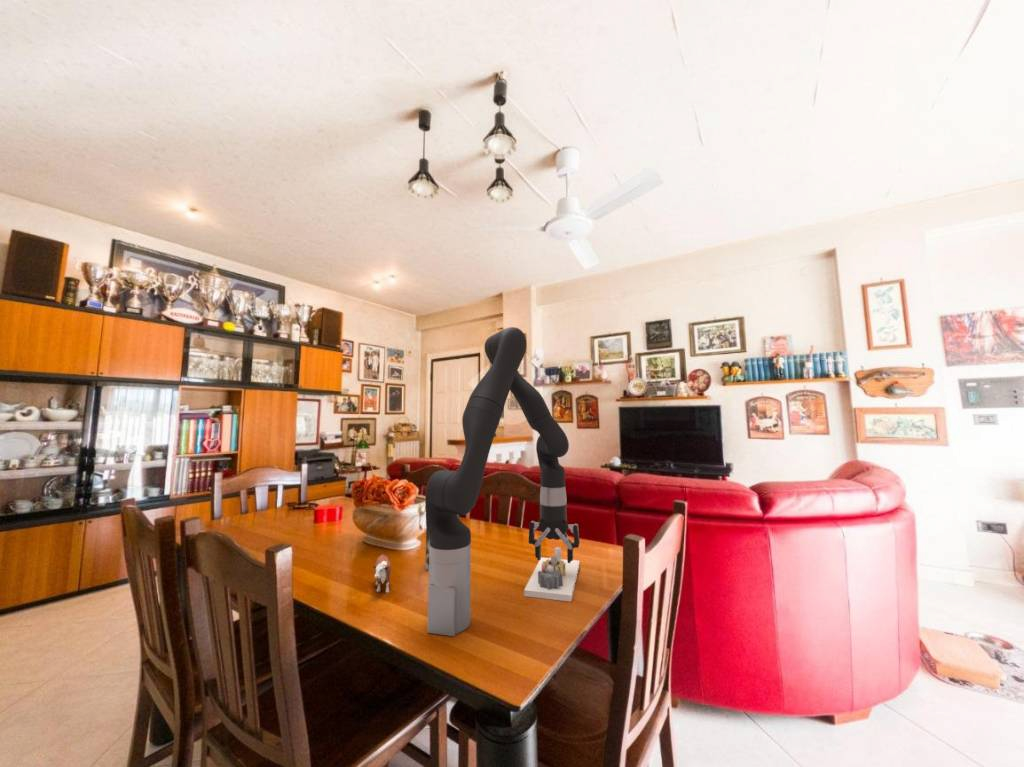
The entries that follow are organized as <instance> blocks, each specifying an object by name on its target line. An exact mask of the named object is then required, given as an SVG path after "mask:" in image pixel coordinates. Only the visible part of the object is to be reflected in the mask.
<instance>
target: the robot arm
mask: <svg viewBox="0 0 1024 767" xmlns="http://www.w3.org/2000/svg"><path fill="white" fill-rule="evenodd" d="M485 340H486V341H485V342H484V353H485V355H486V357H487V359H488V361H489V362H490V365H491V366H490V368H489V369H488V370H487V372H486V373H485V375H484V376H483V377H482V378H481V379H480V381H479V382H478V383H477V385H476V386H475V388H474V389H473V391H472V392H471V394H470V396H469V398H468V401H467V404H466V406H465V409H464V411H463V414H462V421H461V423H462V432H463V435H464V436H463V437H464V442H465V448H464V453H463V457H462V459H461V463H460V465H459V468H458V469H457V470H448V469H440V470H437V471H435V472H433V474H432V475H431V476H430V478H428V482H427V484H426V488H425V496H424V497H425V498H424V500H425V501H424V502H425V504H424V505H425V529H427V533H428V535H429V539H430V551H429V570H428V589H427V633H430V634H434V635H435V634H437V635H443V636H449V637H455V636H456V635H457V634H460V633H461V632H464V631H465V630H466V629H468V628H469V627H470V625H471V617H472V616H471V603H472V602H471V595H472V594H471V587H472V586H471V585H472V583H471V579H472V578H471V577H472V576H471V574H472V572H471V571H472V569H471V568H472V565H471V563H472V562H471V561H472V560H471V558H472V554H471V553H472V534H471V533H472V532H471V528H469V527H468V526H467V525H466V524H465V523H463V522H462V521H461V519H460V515H461V516H463V515H467V514H469V513H470V512H471V511H472V510H473V509H474V507H475V506H476V504H477V501H478V498H479V495H480V493H481V488H482V484H483V479H484V474H485V470H486V466H487V461H488V458H489V454H490V450H491V448H492V445H493V444H492V443H493V440H494V438H495V435H496V432H497V429H498V427H499V424H500V422H501V419H502V414H503V411H504V409H505V406H506V401H507V399H508V396H509V393H510V392H511V394H512V395H513V397H514V398H515V400H516V402H517V403H518V405H519V408H520V409H521V411H522V413H523V415H524V417H525V419H526V421H527V423H528V425H529V427H530V429H532V430H534V431H535V432H537V434H538V435H539V436H538V437H537V441H536V444H535V445H536V446H535V449H536V456H537V460H538V465H539V469H540V492H539V505H540V507H539V510H540V512H539V513H540V518H539V519H540V520H539V521H538V522H537V521H535V520H531V521H530V523H529V525H528V526H529V528H528V544H530V545H532V546H534V551H535V552H534V556H535V558H536V560H537V561H540V559H541V557H542V545H541V543H542V542H543V541H544V539H545V538H546V539H547V540H557V541H559V540H561V541H562V543H564V544H565V546H566V547H567V549H566V553H567V554H566V557H567V559H566V560H568V563H570V562H571V561H572V560H574V549H575V548H576V549H578V548H579V546H580V543H581V542H580V531H579V524H578V523H574V524H572V523H571V524H569V523H568V519H567V518H568V515H567V514H568V513H567V510H568V509H567V508H568V507H567V501H568V500H567V490H566V471H565V470H566V469H565V468H564V467H563V466H562V465H561V464H560V462H559V458H562V457H564V456H566V454H567V453H568V451H569V446H570V444H569V440H568V437H567V435H566V432H565V431H564V430H563V428H562V427H561V426H560V424H559V423H558V422H557V421H556V420H555V418H554V417H553V416H552V413H551V411H550V409H549V408H548V407H549V406H548V405H547V403H546V401H545V399H544V398H543V396H542V394H541V393H540V392H539V391H538V390H537V389H536V388H535V387H534V386H533V385H532V384H530V382H528V381H527V380H526V379H525V378H524V377H523V375H522V374H521V373H520V372H519V371H518V370H519V368H520V365H521V363H522V362H523V359H524V357H525V355H526V351H527V347H528V345H527V337H526V335H525V333H524V332H523V330H521V329H520V328H518V327H513V326H511V327H506V328H504V329H501V330H500V331H498V332H496V333H494V334H492V335H490V336H489V337H488V338H486V339H485ZM457 514H458V515H459V517H458V515H457ZM538 528H539V529H540V531H541V532H542V533H541V534H540V536H539V537H538V538H535V532H536V530H537V529H538ZM568 530H570V532H571V533H572V534H573V541H572V540H571V539H570V537H569V535H568V534H567V531H568Z"/></svg>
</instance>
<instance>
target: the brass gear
mask: <svg viewBox="0 0 1024 767" xmlns="http://www.w3.org/2000/svg"><path fill="white" fill-rule="evenodd" d="M543 563H544V564H545V569H547V566H549V565H551V560H549V559H547V561H545V562H544V561H543ZM551 566H554V569H555V570H561V573H563V575H564V576H565V575H566V564H565V563H564V561H560V560H557V565H551Z"/></svg>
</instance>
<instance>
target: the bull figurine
mask: <svg viewBox="0 0 1024 767" xmlns="http://www.w3.org/2000/svg"><path fill="white" fill-rule="evenodd" d="M373 568H374V576H373V577H374V579H375V580H376V581H375V586H376V587H377V588H376V593H380V592H381V583H382V585H383V584H384V583H385V586H386V587H385V593H386V594H389V593H390V587H389V585H390V578H391V572H392V564H391V562H390V560H389V557H388V556H386V555H385V554H381V555H380V556H378V557H377V558H376V561H375V564H374V565H373Z"/></svg>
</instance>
